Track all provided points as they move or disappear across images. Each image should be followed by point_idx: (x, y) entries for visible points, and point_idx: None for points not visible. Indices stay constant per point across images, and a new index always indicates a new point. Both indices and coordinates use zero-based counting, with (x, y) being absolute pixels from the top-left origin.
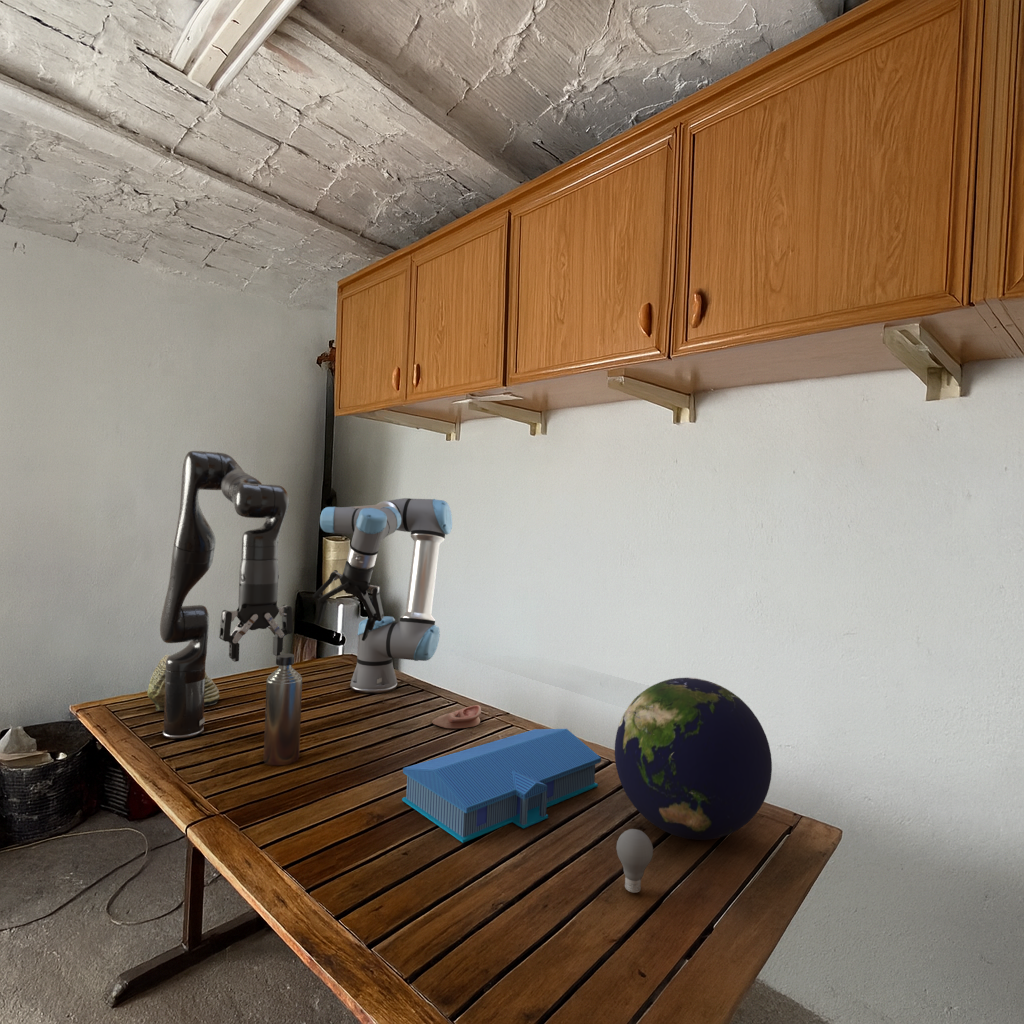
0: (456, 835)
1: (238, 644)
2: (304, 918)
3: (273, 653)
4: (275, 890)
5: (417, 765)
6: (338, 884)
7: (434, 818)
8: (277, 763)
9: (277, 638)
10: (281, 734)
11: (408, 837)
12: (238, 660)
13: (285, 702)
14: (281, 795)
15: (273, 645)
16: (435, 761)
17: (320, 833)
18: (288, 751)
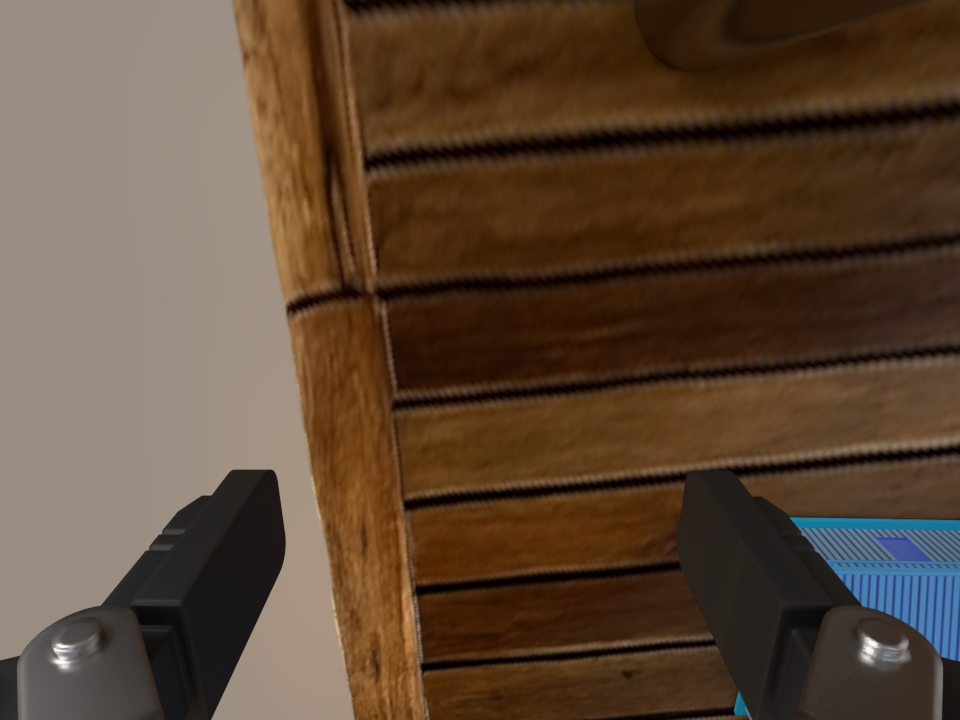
0: (740, 698)
1: (200, 712)
2: (388, 716)
3: (688, 489)
4: (377, 638)
5: (866, 595)
6: (475, 680)
7: None
8: (659, 56)
9: (767, 711)
10: (710, 45)
11: (672, 638)
12: (281, 558)
13: (801, 19)
14: (556, 295)
15: (725, 538)
16: (917, 618)
17: (537, 527)
18: (711, 64)
